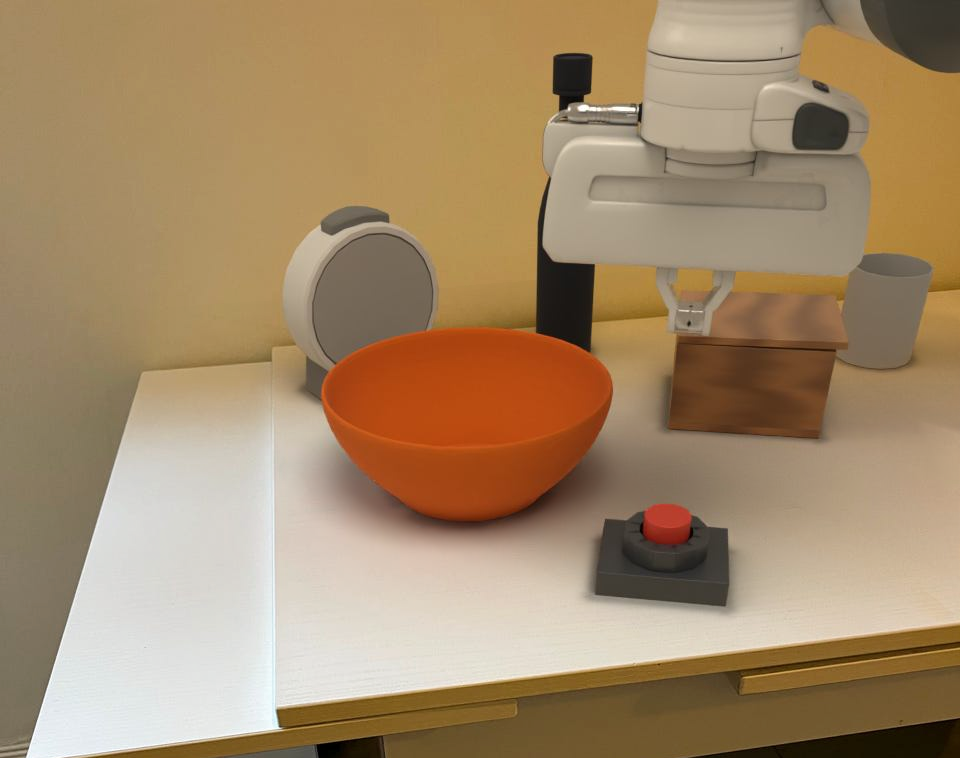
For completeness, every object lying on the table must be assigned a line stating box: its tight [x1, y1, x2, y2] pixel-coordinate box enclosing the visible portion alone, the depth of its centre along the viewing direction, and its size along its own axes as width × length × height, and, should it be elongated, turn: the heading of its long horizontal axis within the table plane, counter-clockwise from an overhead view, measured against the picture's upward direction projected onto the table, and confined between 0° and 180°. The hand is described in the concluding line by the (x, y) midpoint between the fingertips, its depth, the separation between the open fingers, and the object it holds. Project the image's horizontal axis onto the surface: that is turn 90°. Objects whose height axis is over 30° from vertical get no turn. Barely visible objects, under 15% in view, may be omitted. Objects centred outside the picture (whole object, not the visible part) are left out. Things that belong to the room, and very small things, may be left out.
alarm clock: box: [281, 205, 440, 400], centre depth 104 cm, size 16×10×18 cm, turn 126°
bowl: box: [320, 326, 614, 522], centre depth 89 cm, size 25×25×10 cm
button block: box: [594, 510, 730, 607], centre depth 79 cm, size 10×8×4 cm
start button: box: [643, 503, 692, 545], centre depth 77 cm, size 4×4×2 cm
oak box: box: [667, 334, 837, 439], centre depth 101 cm, size 15×13×9 cm
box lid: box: [678, 289, 849, 350], centre depth 98 cm, size 16×13×1 cm
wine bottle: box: [535, 52, 596, 354], centre depth 106 cm, size 6×6×30 cm
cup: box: [836, 252, 935, 370], centre depth 110 cm, size 8×8×10 cm
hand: (687, 332), depth 68 cm, fingers closed
